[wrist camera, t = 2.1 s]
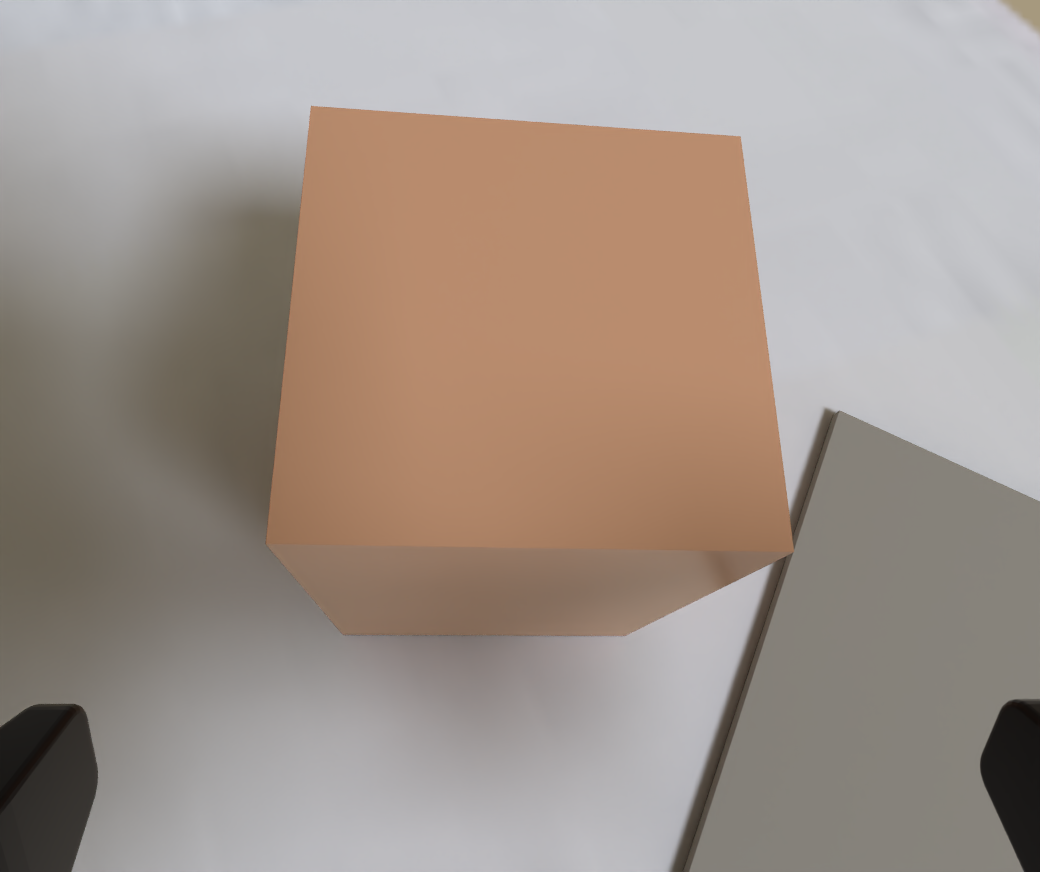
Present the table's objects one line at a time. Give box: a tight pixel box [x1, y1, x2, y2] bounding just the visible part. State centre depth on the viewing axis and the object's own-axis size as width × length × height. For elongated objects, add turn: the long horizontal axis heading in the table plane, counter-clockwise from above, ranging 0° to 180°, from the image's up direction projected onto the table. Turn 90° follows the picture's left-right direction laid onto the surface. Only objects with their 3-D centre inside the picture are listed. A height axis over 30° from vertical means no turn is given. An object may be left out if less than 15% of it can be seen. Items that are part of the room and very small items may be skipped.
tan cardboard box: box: [266, 106, 794, 636], centre depth 16 cm, size 7×7×10 cm
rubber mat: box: [683, 411, 1040, 872], centre depth 20 cm, size 14×14×1 cm
